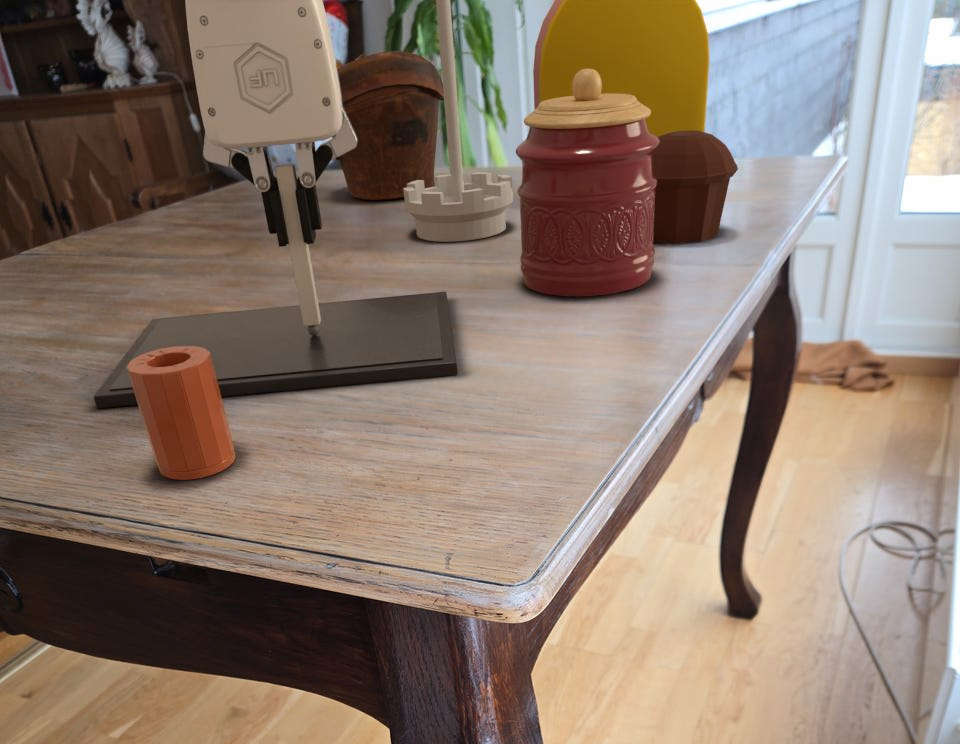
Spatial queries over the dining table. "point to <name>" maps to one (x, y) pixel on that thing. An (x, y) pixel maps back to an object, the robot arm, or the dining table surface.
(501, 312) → the dining table surface
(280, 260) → the dining table surface
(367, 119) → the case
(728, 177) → the muffin
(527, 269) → the kitchen canister
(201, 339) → the tablet
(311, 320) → the stylus
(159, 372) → the pen pot
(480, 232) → the flag stand
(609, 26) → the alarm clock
